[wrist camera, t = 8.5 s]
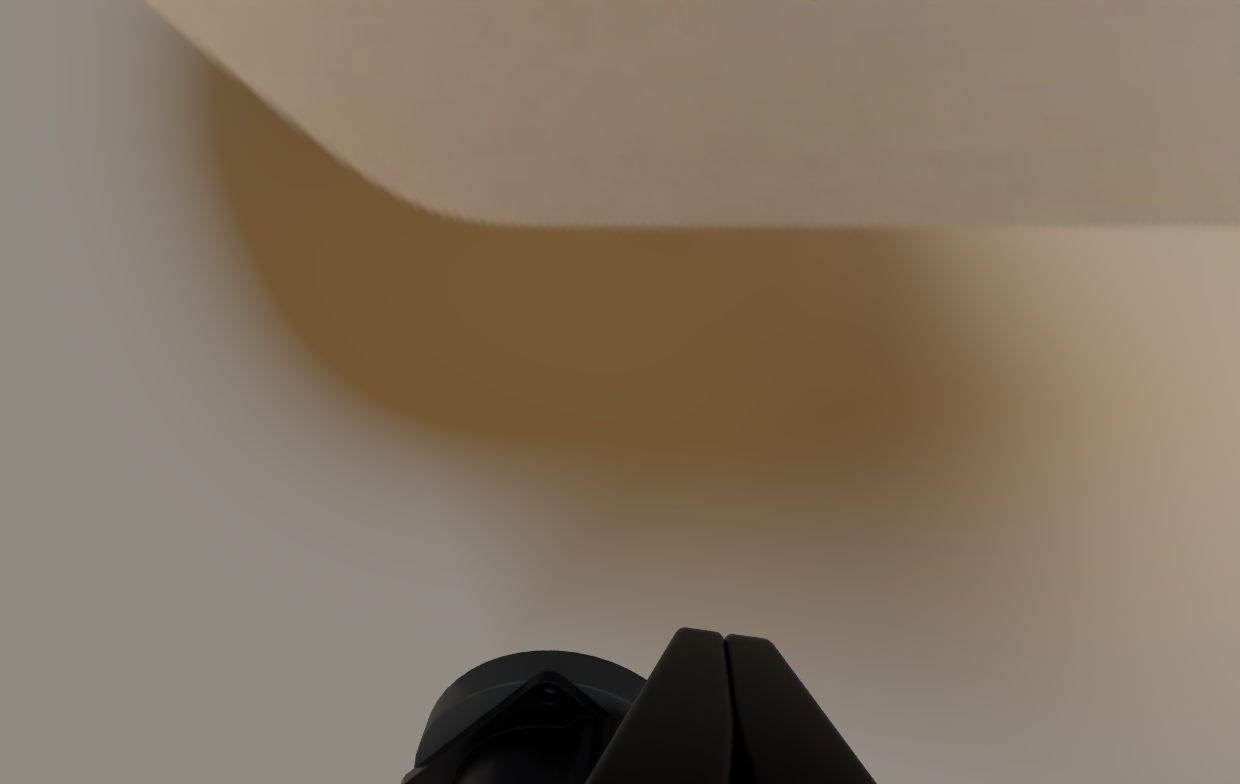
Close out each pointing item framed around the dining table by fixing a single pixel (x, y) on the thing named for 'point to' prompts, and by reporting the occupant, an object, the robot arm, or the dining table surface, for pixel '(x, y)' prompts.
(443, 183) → the dining table surface
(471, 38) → the dining table surface
